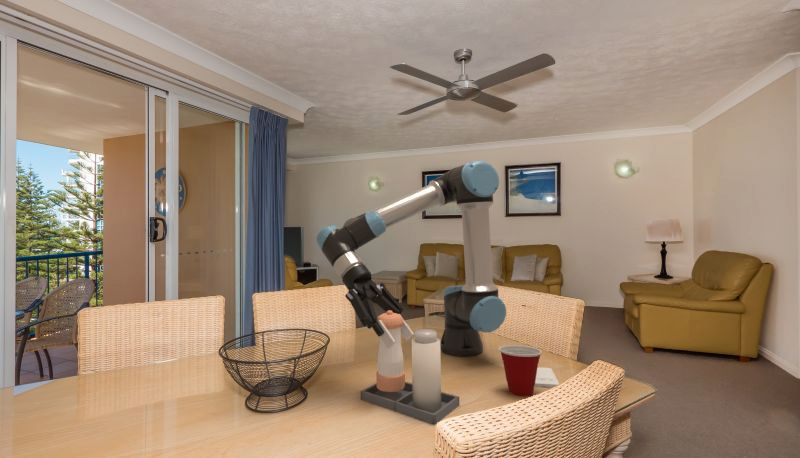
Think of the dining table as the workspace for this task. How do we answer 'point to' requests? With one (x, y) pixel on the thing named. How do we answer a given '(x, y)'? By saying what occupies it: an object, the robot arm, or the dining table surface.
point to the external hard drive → (545, 378)
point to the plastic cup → (520, 368)
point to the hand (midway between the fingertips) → (401, 341)
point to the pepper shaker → (391, 356)
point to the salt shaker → (426, 370)
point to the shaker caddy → (409, 402)
